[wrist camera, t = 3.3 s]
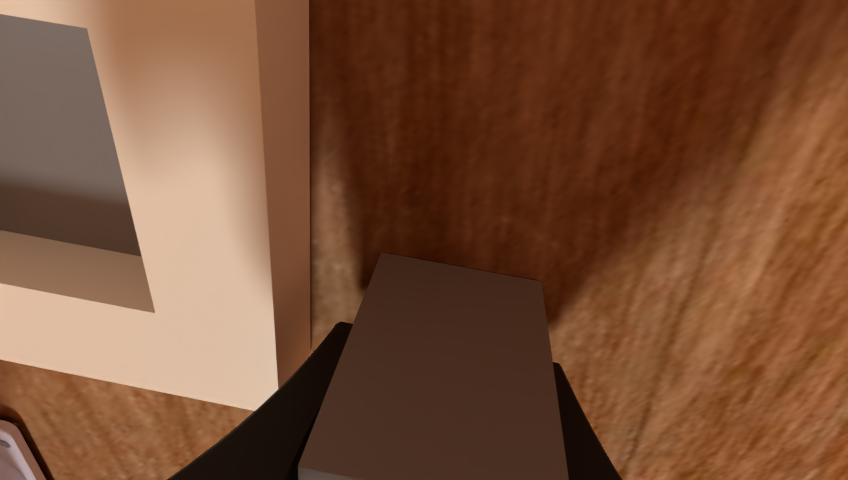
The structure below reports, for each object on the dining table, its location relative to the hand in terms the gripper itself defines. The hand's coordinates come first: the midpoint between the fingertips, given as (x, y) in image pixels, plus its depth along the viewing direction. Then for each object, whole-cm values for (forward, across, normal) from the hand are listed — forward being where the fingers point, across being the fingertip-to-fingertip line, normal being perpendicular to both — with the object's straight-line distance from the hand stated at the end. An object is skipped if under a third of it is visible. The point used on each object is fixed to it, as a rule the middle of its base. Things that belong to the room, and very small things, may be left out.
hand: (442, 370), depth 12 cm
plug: (+2, 0, 0) cm, 2 cm away
